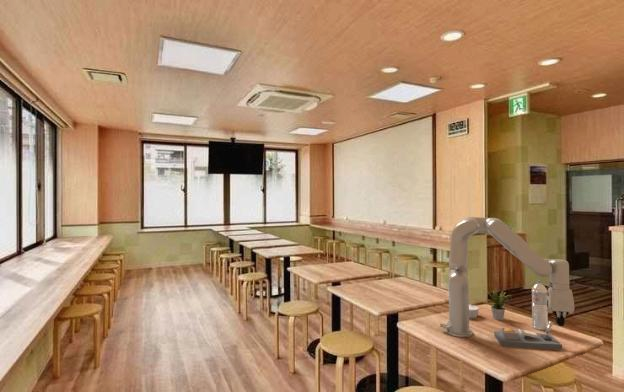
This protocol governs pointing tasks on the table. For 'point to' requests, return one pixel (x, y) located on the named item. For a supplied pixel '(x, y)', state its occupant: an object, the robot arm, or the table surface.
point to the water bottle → (539, 307)
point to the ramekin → (473, 311)
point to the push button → (508, 330)
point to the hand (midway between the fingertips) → (560, 325)
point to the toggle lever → (548, 328)
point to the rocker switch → (527, 333)
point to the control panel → (526, 340)
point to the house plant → (498, 305)
